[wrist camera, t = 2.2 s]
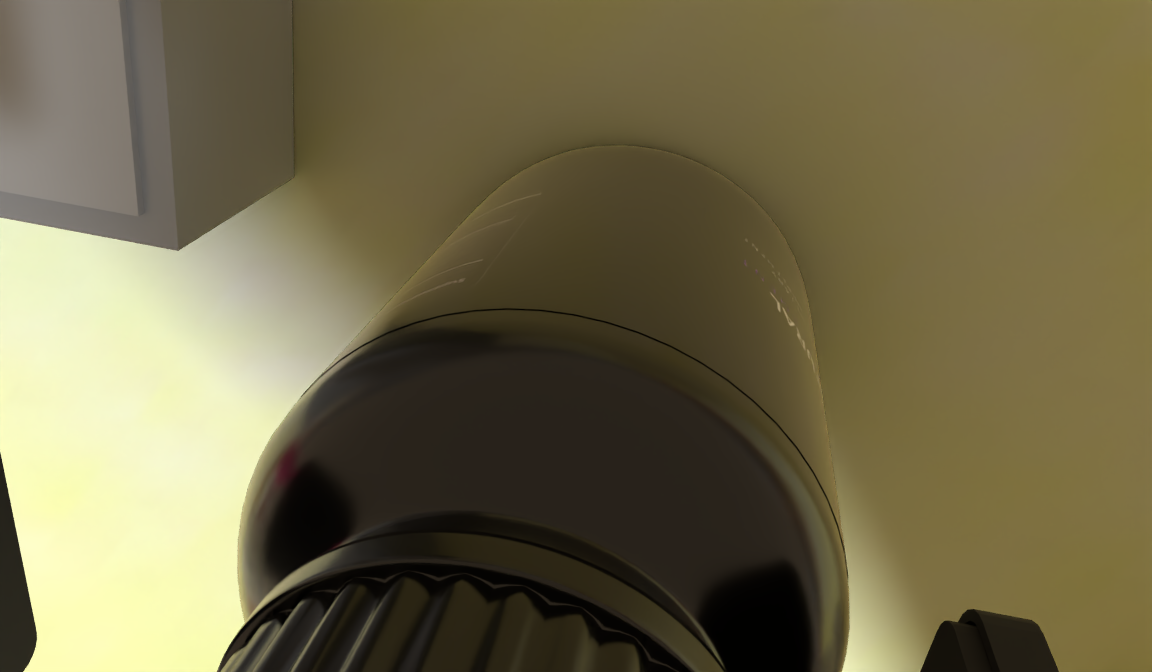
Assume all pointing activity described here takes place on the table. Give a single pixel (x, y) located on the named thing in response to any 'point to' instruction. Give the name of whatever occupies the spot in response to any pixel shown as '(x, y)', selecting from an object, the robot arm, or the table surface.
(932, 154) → the table surface
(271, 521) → the supplement bottle
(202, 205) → the slate riser
